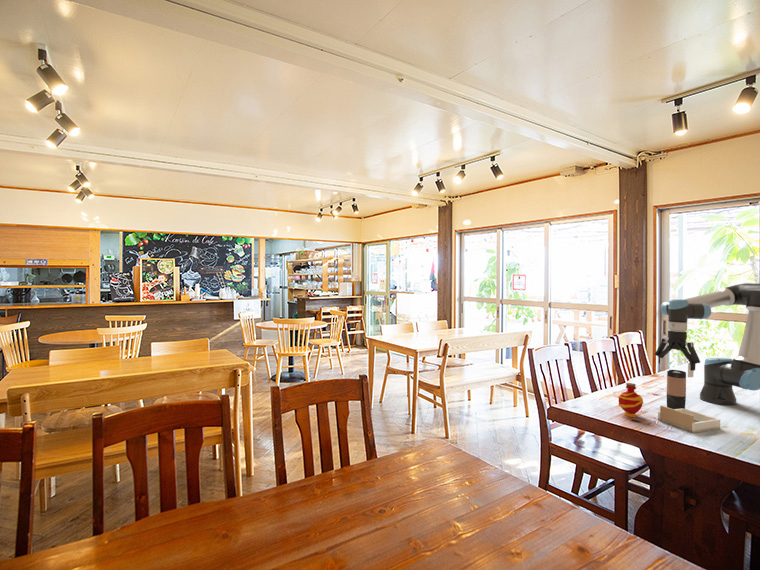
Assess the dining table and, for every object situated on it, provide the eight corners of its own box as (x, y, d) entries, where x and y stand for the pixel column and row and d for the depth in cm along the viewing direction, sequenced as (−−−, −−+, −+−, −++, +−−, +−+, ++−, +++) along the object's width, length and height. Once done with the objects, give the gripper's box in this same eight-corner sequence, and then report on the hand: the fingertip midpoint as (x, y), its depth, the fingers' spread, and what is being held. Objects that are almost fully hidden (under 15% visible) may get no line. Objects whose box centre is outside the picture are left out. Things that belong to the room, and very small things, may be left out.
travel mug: (688, 414, 193) (689, 373, 192) (671, 413, 194) (671, 372, 194) (680, 409, 200) (681, 370, 200) (663, 408, 202) (664, 369, 201)
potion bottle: (635, 420, 185) (635, 388, 185) (613, 413, 194) (613, 382, 194) (648, 416, 190) (648, 385, 190) (626, 410, 199) (626, 380, 199)
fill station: (682, 416, 190) (682, 402, 190) (720, 428, 175) (720, 412, 175) (657, 420, 185) (658, 405, 185) (694, 433, 170) (694, 416, 170)
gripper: (647, 327, 207) (646, 368, 208) (699, 334, 183) (697, 380, 184) (658, 327, 210) (657, 367, 210) (710, 334, 186) (709, 379, 186)
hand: (676, 373), depth 197 cm, fingers open, 13 cm apart
